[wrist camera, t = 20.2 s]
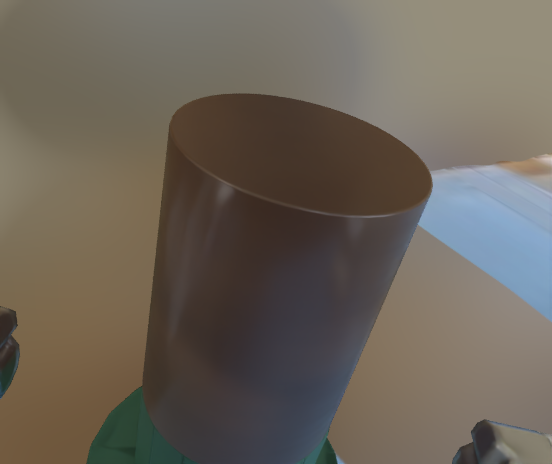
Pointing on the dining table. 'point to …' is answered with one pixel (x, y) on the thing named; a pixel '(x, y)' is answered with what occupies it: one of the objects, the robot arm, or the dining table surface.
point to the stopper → (270, 271)
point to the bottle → (156, 440)
